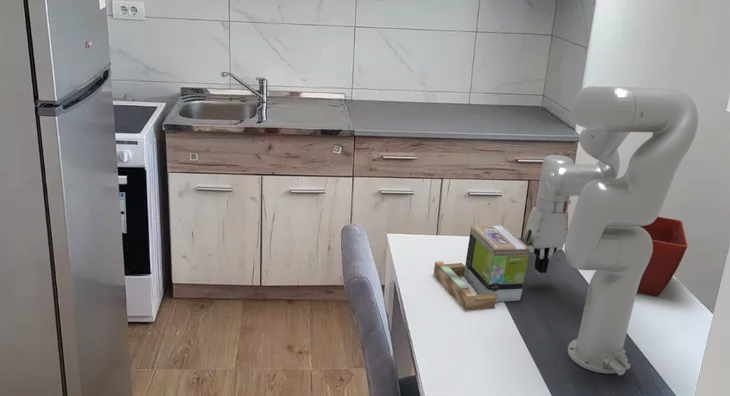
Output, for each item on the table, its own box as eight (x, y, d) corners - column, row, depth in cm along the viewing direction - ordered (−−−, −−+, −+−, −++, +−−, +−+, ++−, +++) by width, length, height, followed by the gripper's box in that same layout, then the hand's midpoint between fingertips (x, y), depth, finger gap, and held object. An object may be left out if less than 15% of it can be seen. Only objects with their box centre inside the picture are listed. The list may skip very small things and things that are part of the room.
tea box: (521, 301, 176) (531, 247, 171) (485, 303, 174) (493, 249, 169) (496, 274, 190) (504, 223, 185) (462, 275, 187) (469, 224, 182)
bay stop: (494, 307, 172) (497, 292, 170) (465, 311, 169) (467, 295, 168) (460, 272, 188) (462, 258, 187) (433, 275, 186) (435, 260, 184)
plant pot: (595, 289, 186) (608, 231, 180) (597, 261, 203) (609, 207, 197) (672, 305, 181) (688, 246, 175) (667, 275, 198) (682, 220, 192)
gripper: (567, 198, 182) (556, 263, 188) (518, 200, 177) (507, 266, 183) (585, 208, 176) (573, 274, 181) (534, 210, 171) (523, 279, 176)
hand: (540, 270), depth 182 cm, fingers closed
